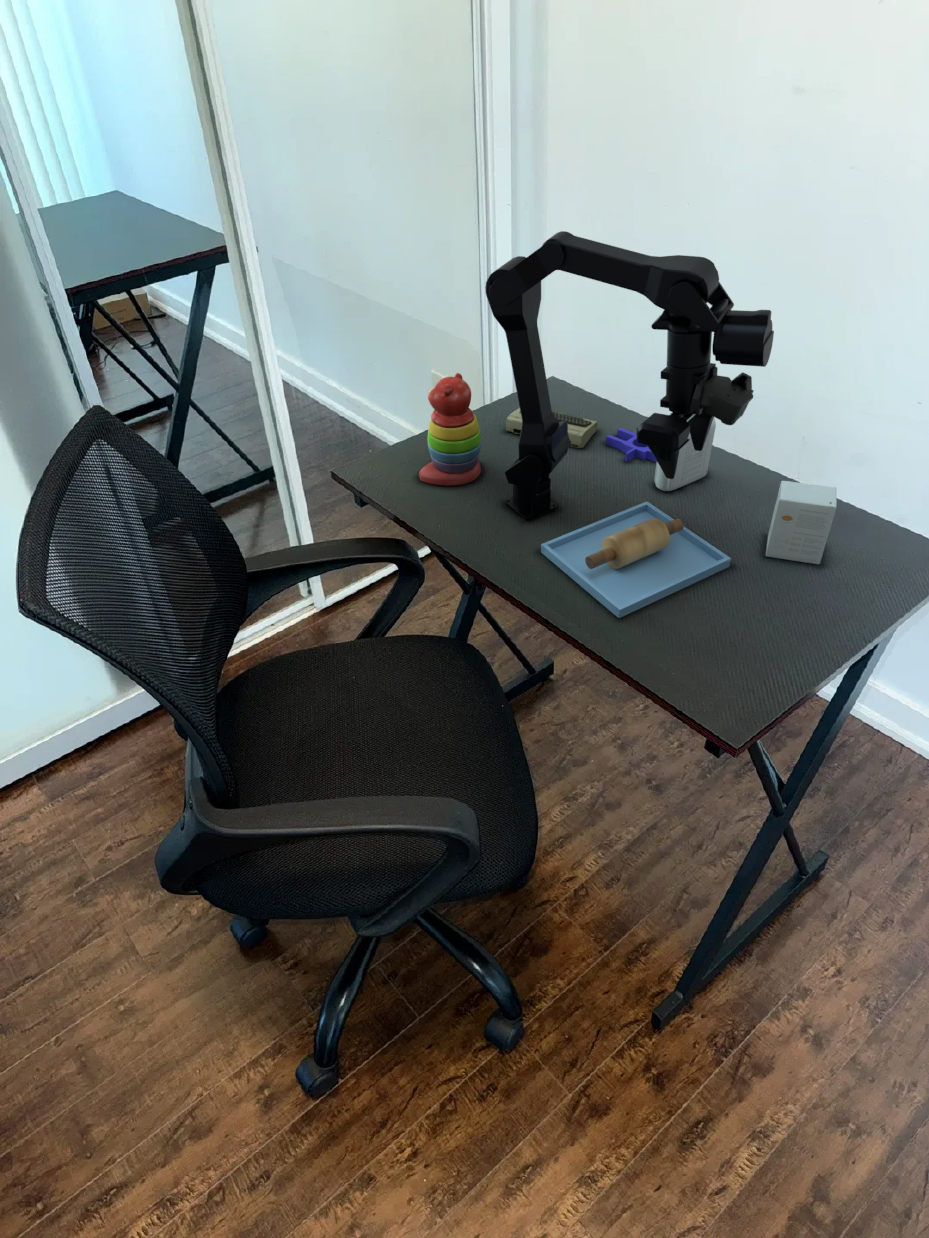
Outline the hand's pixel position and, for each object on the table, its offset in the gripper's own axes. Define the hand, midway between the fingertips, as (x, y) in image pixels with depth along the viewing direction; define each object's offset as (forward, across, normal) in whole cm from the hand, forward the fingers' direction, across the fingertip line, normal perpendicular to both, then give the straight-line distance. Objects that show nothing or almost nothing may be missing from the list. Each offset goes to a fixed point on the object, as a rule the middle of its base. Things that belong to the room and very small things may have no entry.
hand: (684, 464), depth 121 cm
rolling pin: (+14, -8, +4) cm, 16 cm away
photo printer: (+14, +17, +9) cm, 24 cm away
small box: (+16, +8, -15) cm, 23 cm away
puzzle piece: (+13, +22, +19) cm, 32 cm away
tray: (+14, -8, +4) cm, 16 cm away
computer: (+11, +20, +36) cm, 43 cm away
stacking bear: (+10, -3, +43) cm, 44 cm away
